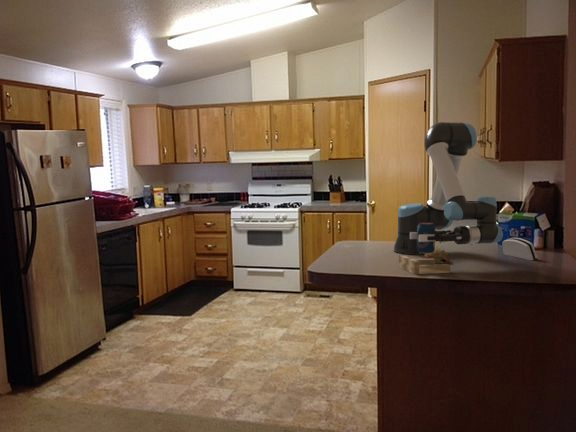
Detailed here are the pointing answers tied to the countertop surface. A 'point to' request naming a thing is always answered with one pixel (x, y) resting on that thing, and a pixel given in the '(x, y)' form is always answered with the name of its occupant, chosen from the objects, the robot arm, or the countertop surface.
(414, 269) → the u bracket
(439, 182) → the robot arm
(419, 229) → the soda can
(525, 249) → the white napkin holder
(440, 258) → the bread roll
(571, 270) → the countertop surface
